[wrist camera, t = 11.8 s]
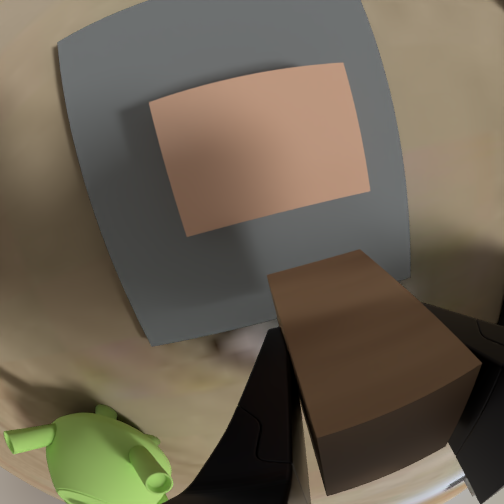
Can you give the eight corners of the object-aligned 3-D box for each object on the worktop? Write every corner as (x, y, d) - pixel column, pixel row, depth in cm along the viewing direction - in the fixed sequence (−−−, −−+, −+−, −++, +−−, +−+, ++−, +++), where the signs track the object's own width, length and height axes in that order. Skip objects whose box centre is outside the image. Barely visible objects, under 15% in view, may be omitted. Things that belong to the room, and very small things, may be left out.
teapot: (72, 450, 19) (52, 518, 11) (31, 367, 15) (-19, 452, 7) (185, 473, 20) (183, 551, 12) (179, 398, 16) (168, 518, 8)
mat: (404, 272, 14) (410, 277, 14) (154, 339, 14) (151, 346, 14) (345, -20, 9) (349, -25, 8) (63, 45, 9) (57, 42, 8)
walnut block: (365, 325, 10) (445, 446, 5) (285, 350, 10) (326, 496, 5) (359, 249, 9) (482, 363, 4) (266, 274, 9) (316, 438, 4)
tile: (370, 191, 10) (186, 237, 10) (351, 184, 12) (192, 224, 12) (343, 62, 9) (148, 102, 9) (327, 72, 10) (159, 108, 10)
